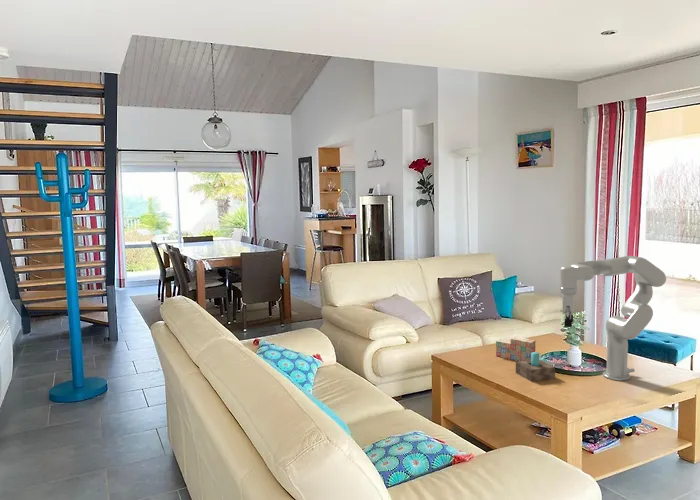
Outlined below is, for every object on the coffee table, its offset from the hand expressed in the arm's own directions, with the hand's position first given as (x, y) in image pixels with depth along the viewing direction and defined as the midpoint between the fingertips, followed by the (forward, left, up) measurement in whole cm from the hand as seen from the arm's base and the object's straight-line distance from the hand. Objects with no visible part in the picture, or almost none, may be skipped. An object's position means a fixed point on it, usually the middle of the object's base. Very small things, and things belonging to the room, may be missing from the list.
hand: (568, 324), depth 267 cm
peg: (+11, -12, -29) cm, 33 cm away
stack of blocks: (+5, -40, -30) cm, 50 cm away
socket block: (+11, -12, -29) cm, 33 cm away
